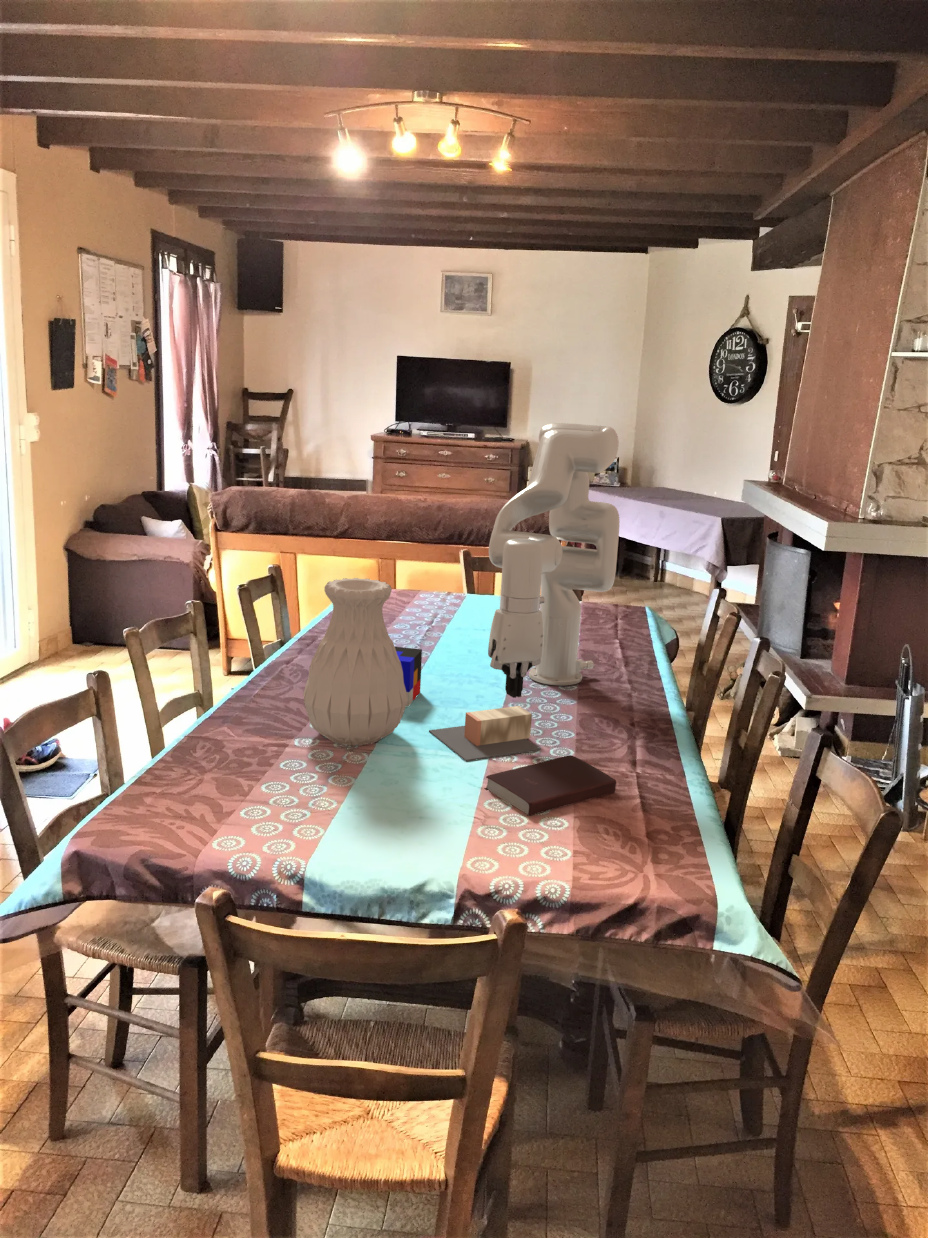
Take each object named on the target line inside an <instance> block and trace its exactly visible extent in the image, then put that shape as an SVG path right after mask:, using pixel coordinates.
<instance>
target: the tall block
mask: <svg viewBox="0 0 928 1238" xmlns="http://www.w3.org/2000/svg"><path fill="white" fill-rule="evenodd" d="M532 716H533V715H532V713H531V712H529V711H528V710H526V709H525V708H523V707H522V706H520V705H515V706H507V707H499V708H493V709H485V710H484V709H483V710H475V711H469V712H465V717H464V718H465V722H464V726H465V735H464V737H465V738H467V739H468V740H469V741H471V742H472V743H473V744H475V745H476V746H478V745H485V744H492V743H499V742H506V741H513V740H520V739H527V740H528V739H530V738H531V731H532V720H533V718H532Z"/></svg>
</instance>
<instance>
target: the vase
mask: <svg viewBox="0 0 928 1238" xmlns="http://www.w3.org/2000/svg"><path fill="white" fill-rule="evenodd" d="M324 593H325V596H327V598H328V599H329V601H330V602H331V604H332V605H333V606H332V607H333V608H332V614H331V619H330V621H329V624H328V626H327V629H326V630H325V634H324V636H323V637H322V638H321V640H320V642H319V643H318V646H317V648H316V651H315V653H314V655H313V657H312V659H311V662H310V665H309V671H308V678H307V680H306V683H305V687H304V691H303V694H302V696H303V702H304V707H305V709H306V713H307V714H306V715H307V716H308V720H309V723H310V724H311V726H312V729H314V730H315V731H316V732H317V733H319V734H320V735H322V736H324V737H326V739H328V740H329V741H330V742H333V743H336V744H338V745H340V744H341V745H342V746H345V745H346V746H353V747H354V746H360V747H361V746H365V745H371V744H374V743H377V742H379V741H380V740H381V739H384V738H385V737H387V736H389V735H391V734H392V733H393V732H394V731H395V730H396V729H397V728H398V726H399V725H400V723H401V722H402V721H401V720H402V718H403V716H404V713H405V711H406V707H407V706H406V704H407V701H408V697H407V693H406V688H405V685H404V680H403V670H402V666H401V662H400V660H399V657H398V655H397V652H396V649H395V647H396V646H395V644H394V642H393V640H392V639H391V637H390V635H389V633H388V629H387V627H386V624H385V620H384V615H383V608H384V607H383V606H384V605H385V603H386V602H387V601H388V600H389V598H390V596H391V593H392V586H391V585H390V584H388V582H385V581H380V580H378V579H370V578H359V577H354V578H347V577H346V578H342V579H337V578H336V579H333V581H327V583H326V584H325V586H324Z"/></svg>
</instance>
